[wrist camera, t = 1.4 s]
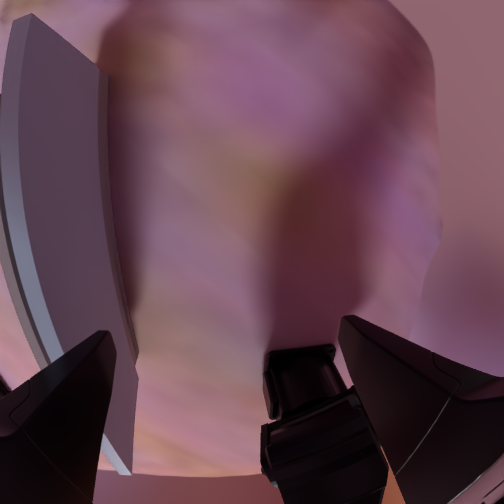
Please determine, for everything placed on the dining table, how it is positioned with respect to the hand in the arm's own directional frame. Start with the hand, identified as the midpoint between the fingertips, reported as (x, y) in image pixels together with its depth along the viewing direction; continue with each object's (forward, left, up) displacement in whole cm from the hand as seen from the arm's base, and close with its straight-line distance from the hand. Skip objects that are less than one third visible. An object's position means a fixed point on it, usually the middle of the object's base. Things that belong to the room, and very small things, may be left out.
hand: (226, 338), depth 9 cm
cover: (+7, 0, -5) cm, 9 cm away
